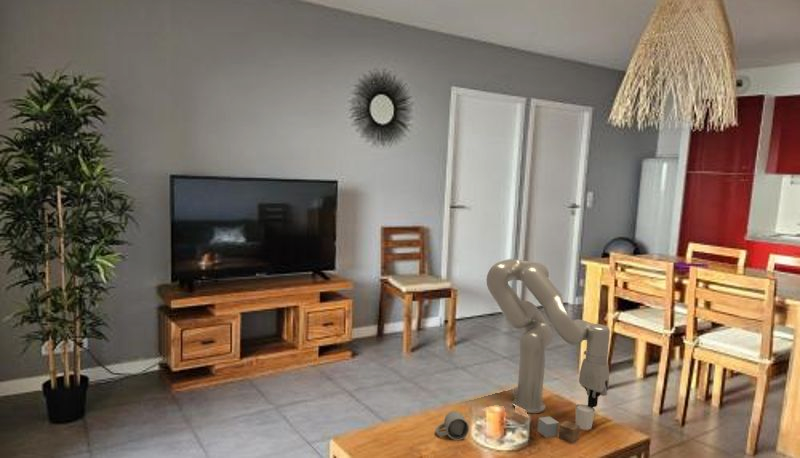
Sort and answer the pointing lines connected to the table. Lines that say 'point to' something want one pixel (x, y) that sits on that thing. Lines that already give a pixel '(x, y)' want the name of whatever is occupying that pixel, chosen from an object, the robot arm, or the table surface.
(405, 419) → the table surface
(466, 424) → the ceramic mug
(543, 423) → the slate block
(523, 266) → the robot arm
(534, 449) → the table surface
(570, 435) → the walnut block
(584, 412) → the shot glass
